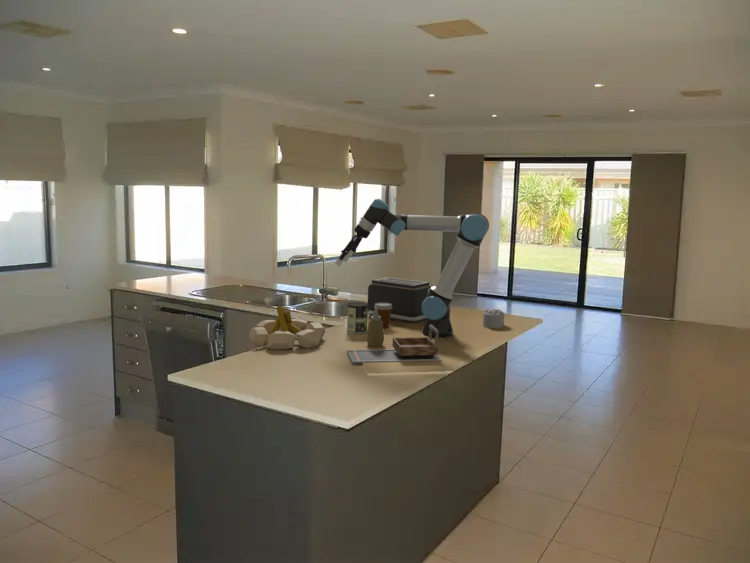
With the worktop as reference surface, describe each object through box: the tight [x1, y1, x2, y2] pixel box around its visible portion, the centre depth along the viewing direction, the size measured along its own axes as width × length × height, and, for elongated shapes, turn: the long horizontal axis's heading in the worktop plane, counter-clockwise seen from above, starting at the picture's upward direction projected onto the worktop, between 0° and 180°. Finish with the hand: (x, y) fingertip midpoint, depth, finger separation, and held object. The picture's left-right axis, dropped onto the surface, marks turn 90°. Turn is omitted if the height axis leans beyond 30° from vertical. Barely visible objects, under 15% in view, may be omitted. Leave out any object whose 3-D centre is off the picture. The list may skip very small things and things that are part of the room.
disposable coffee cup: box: [374, 303, 392, 329], centre depth 326 cm, size 10×10×12 cm
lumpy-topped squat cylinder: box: [482, 308, 505, 329], centre depth 335 cm, size 10×13×9 cm
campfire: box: [248, 305, 326, 350], centre depth 291 cm, size 35×34×17 cm
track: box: [346, 348, 443, 365], centre depth 268 cm, size 38×18×1 cm, turn 100°
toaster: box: [367, 276, 432, 324], centre depth 352 cm, size 19×35×20 cm, turn 54°
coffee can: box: [346, 301, 369, 335], centre depth 313 cm, size 10×10×14 cm
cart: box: [392, 325, 440, 359], centre depth 269 cm, size 17×16×12 cm
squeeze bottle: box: [366, 308, 385, 348], centre depth 284 cm, size 8×8×18 cm
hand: (340, 262), depth 307 cm, fingers open, 13 cm apart
